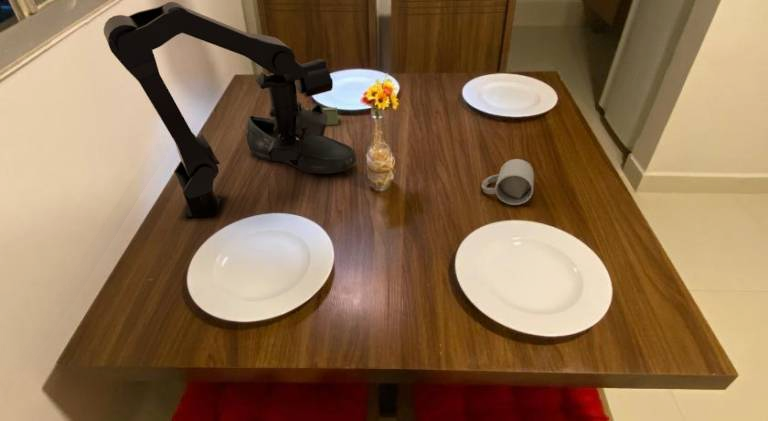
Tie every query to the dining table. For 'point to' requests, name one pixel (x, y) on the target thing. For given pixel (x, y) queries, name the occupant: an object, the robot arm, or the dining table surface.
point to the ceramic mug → (512, 182)
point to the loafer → (316, 150)
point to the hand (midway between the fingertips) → (295, 164)
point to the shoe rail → (330, 115)
